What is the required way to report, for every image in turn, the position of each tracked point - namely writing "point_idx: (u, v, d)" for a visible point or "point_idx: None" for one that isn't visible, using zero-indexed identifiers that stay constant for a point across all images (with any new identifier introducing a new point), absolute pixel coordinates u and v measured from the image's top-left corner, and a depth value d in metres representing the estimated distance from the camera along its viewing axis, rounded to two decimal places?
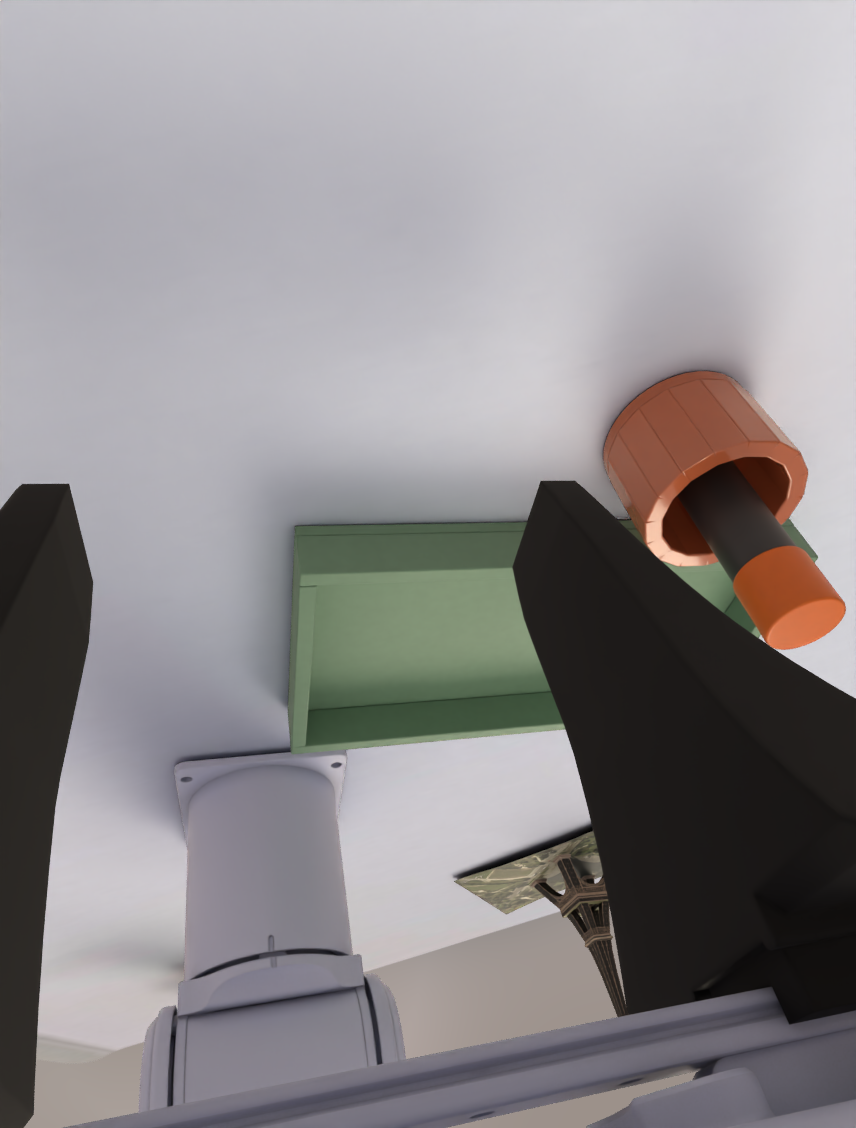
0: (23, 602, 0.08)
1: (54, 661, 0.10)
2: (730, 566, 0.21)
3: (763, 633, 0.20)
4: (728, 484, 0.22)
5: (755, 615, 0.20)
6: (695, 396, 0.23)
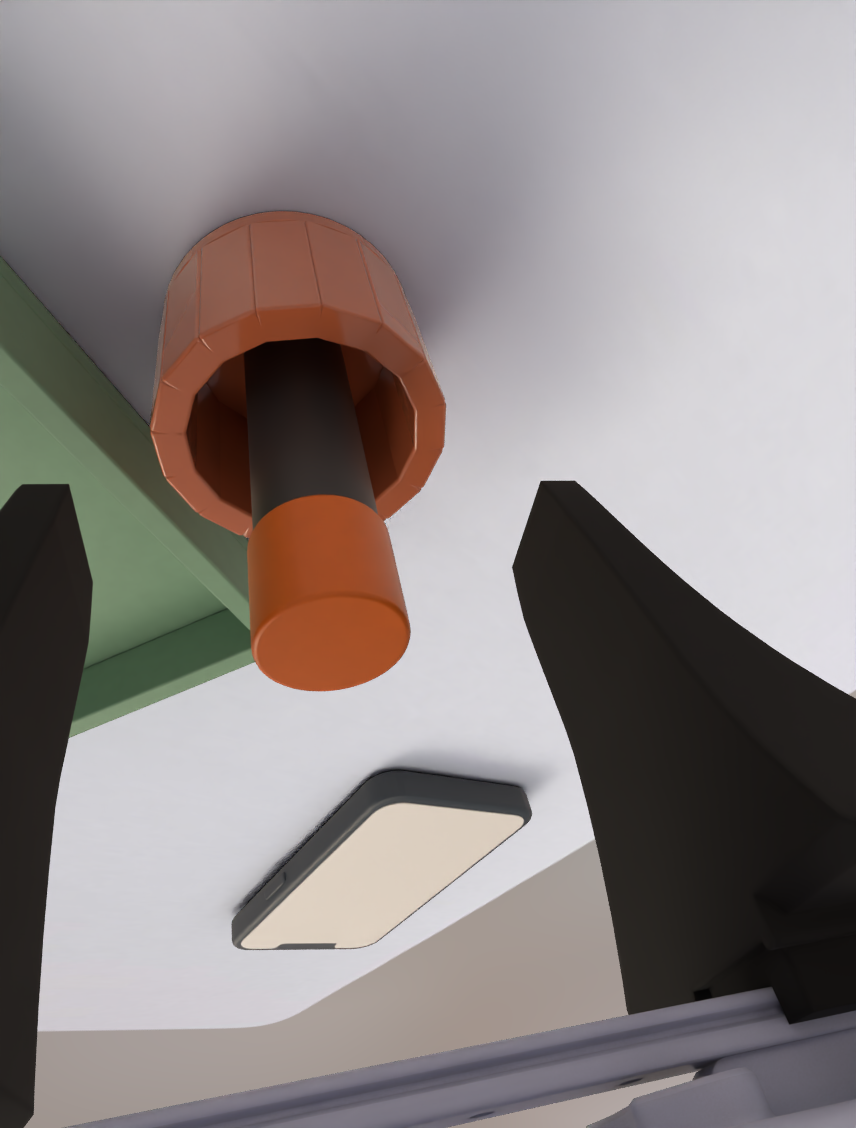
0: (23, 602, 0.08)
1: (54, 661, 0.10)
2: (277, 491, 0.11)
3: (266, 611, 0.10)
4: (343, 403, 0.13)
5: (273, 575, 0.10)
6: (384, 274, 0.14)
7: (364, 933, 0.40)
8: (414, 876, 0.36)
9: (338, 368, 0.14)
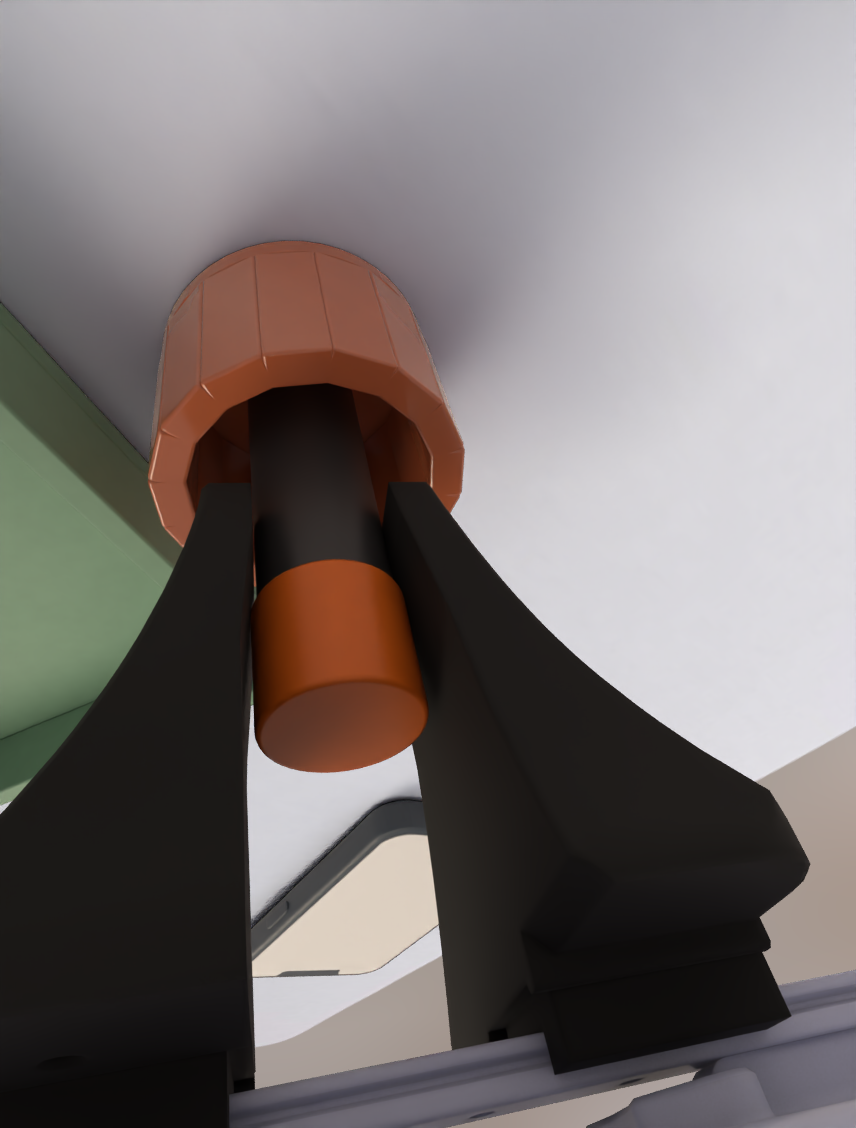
0: (245, 593, 0.09)
1: (248, 649, 0.10)
2: (283, 553, 0.10)
3: (271, 696, 0.09)
4: (353, 450, 0.12)
5: (279, 654, 0.09)
6: (398, 308, 0.13)
7: (368, 959, 0.39)
8: (420, 905, 0.35)
9: (348, 409, 0.13)
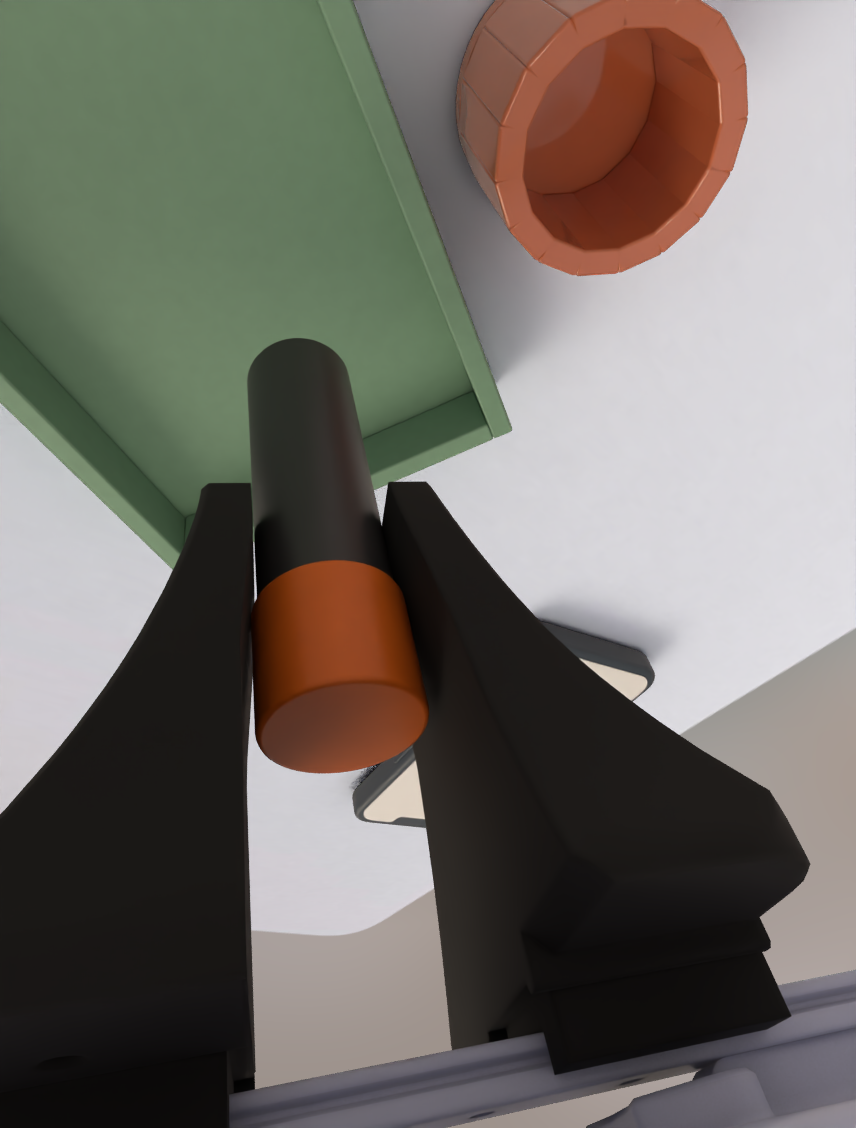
0: (245, 593, 0.09)
1: (248, 649, 0.10)
2: (284, 554, 0.10)
3: (272, 697, 0.09)
4: (353, 450, 0.12)
5: (280, 655, 0.09)
6: None
7: None
8: None
9: (348, 409, 0.13)
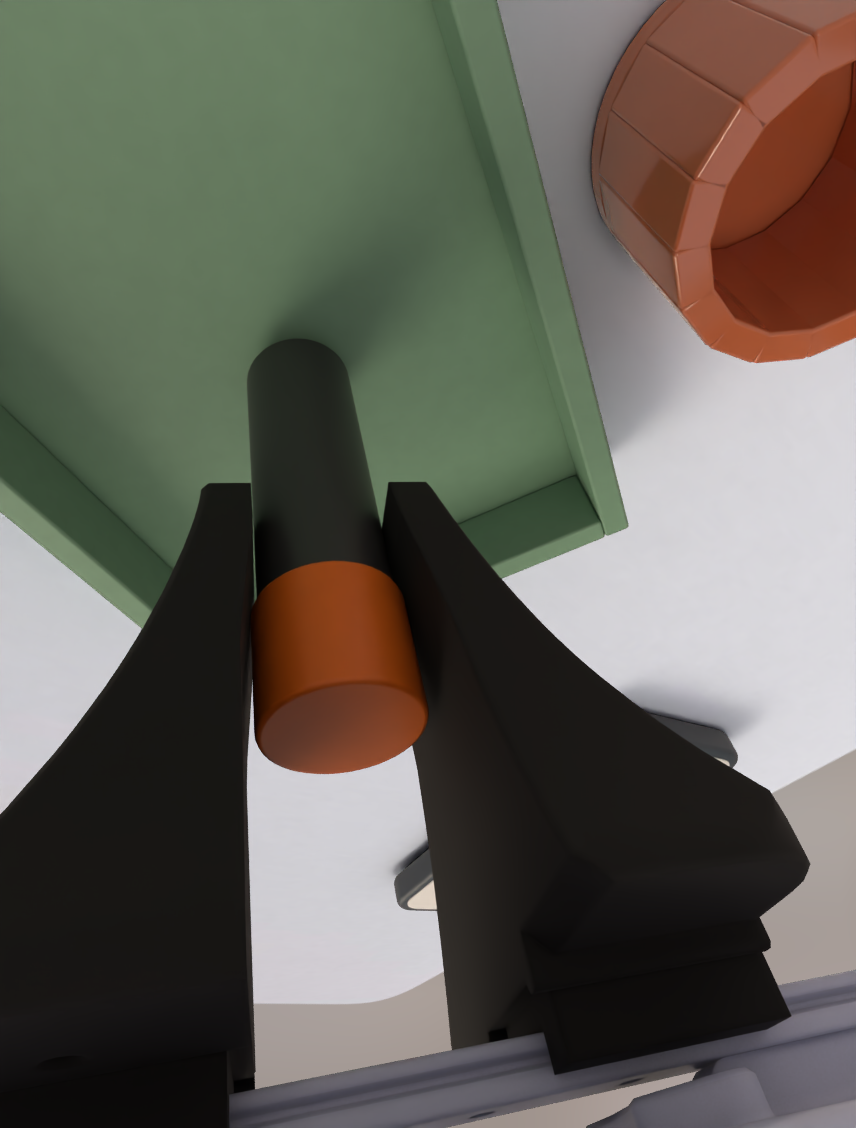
0: (245, 593, 0.09)
1: (249, 649, 0.10)
2: (283, 555, 0.10)
3: (271, 697, 0.09)
4: (353, 451, 0.12)
5: (279, 656, 0.09)
6: None
7: None
8: None
9: (347, 410, 0.13)
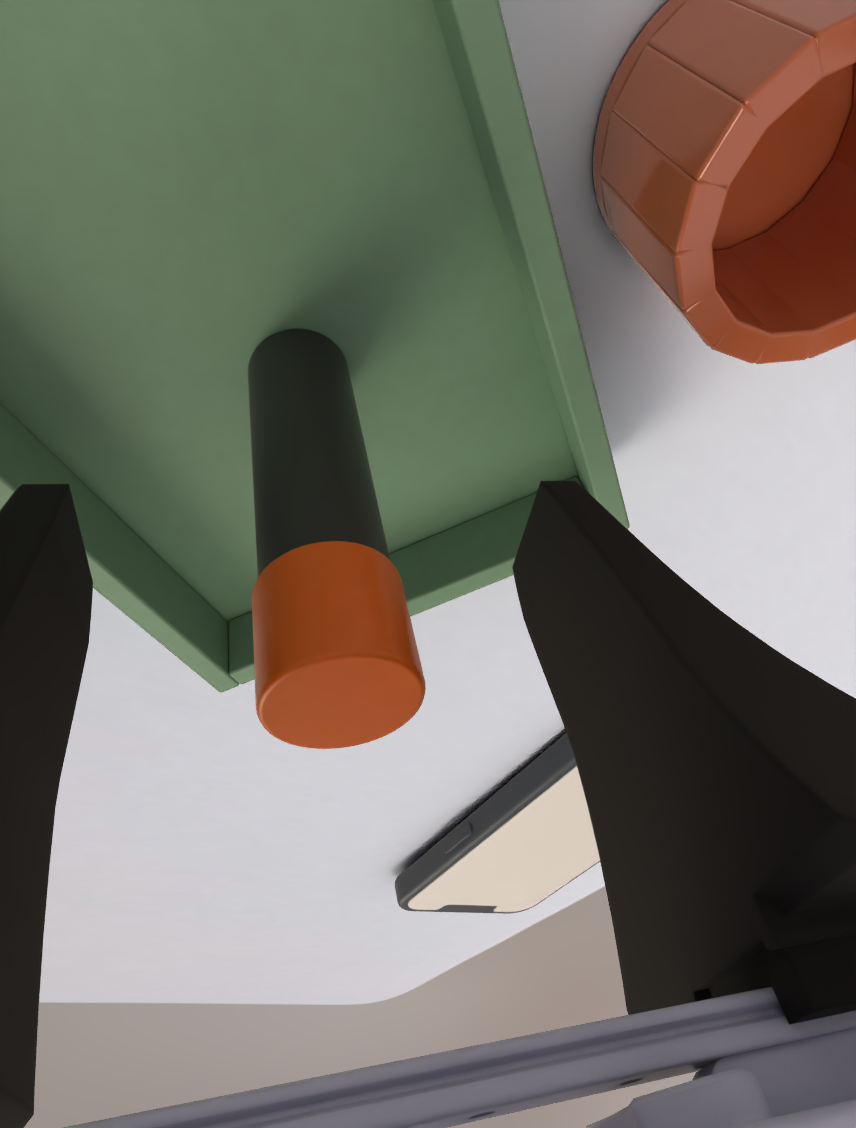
0: (23, 602, 0.08)
1: (54, 661, 0.10)
2: (284, 536, 0.10)
3: (272, 671, 0.09)
4: (352, 437, 0.12)
5: (280, 631, 0.09)
6: None
7: (527, 895, 0.37)
8: None
9: (346, 398, 0.13)
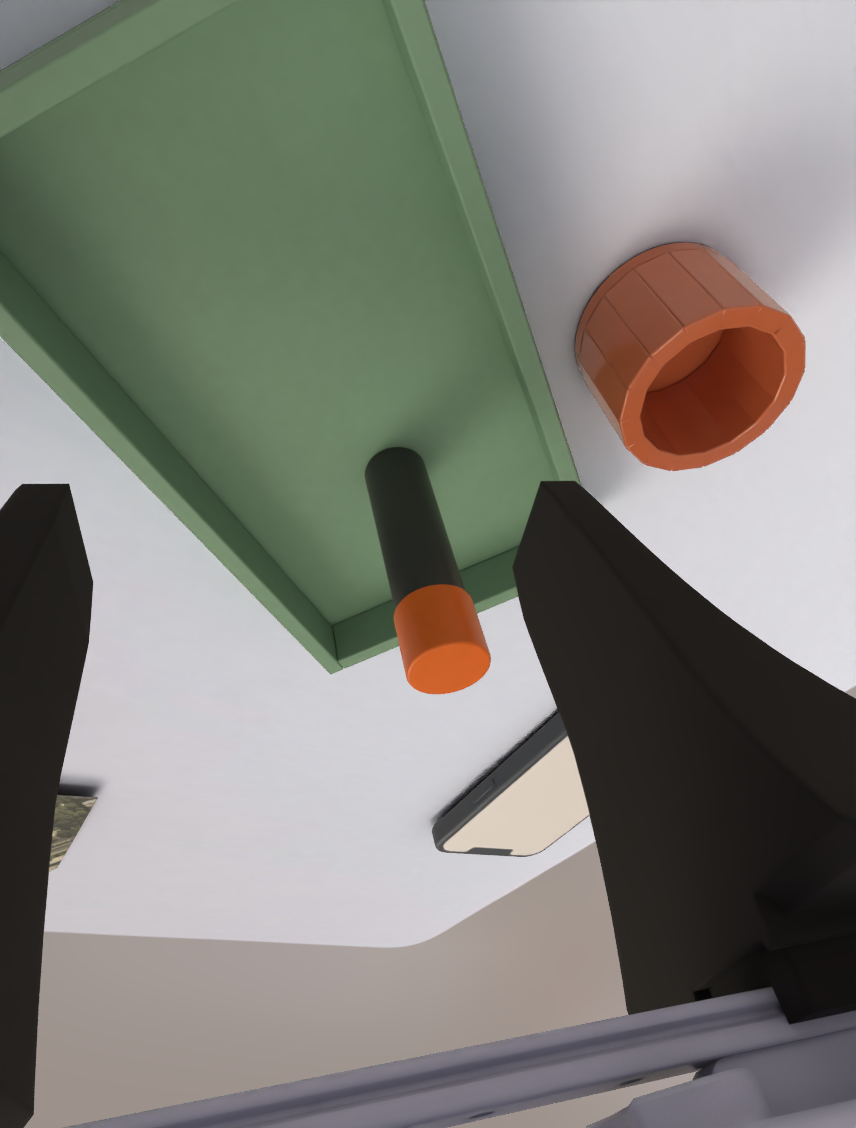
0: (23, 602, 0.08)
1: (54, 661, 0.10)
2: (411, 581, 0.20)
3: (417, 652, 0.18)
4: (438, 519, 0.22)
5: (418, 632, 0.18)
6: None
7: (537, 840, 0.47)
8: None
9: (431, 493, 0.22)
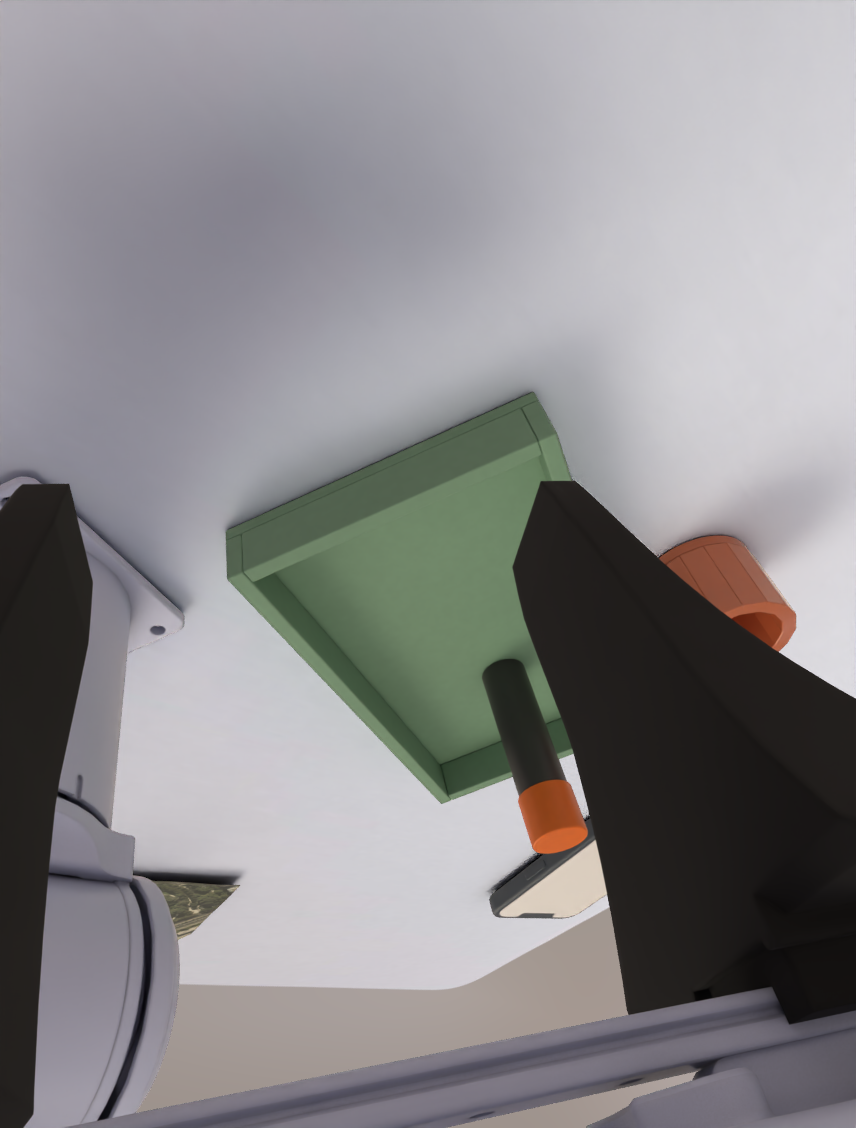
0: (23, 602, 0.08)
1: (54, 661, 0.10)
2: (531, 775, 0.29)
3: (541, 832, 0.27)
4: (542, 721, 0.31)
5: (541, 817, 0.28)
6: (759, 564, 0.30)
7: (575, 905, 0.56)
8: None
9: (534, 697, 0.32)
